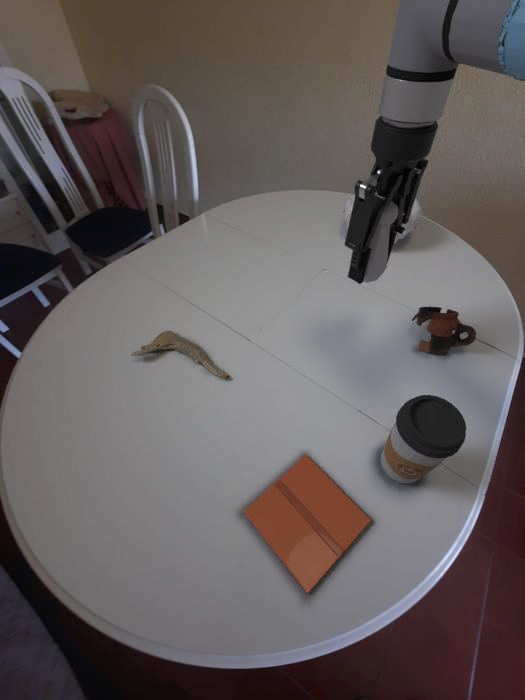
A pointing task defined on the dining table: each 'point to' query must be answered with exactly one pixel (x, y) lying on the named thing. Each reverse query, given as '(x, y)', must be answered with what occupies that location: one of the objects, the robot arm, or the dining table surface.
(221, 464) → the dining table surface
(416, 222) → the bowl
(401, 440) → the coffee cup
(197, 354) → the curved driftwood piece
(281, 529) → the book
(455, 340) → the pottery mug
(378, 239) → the salt shaker
